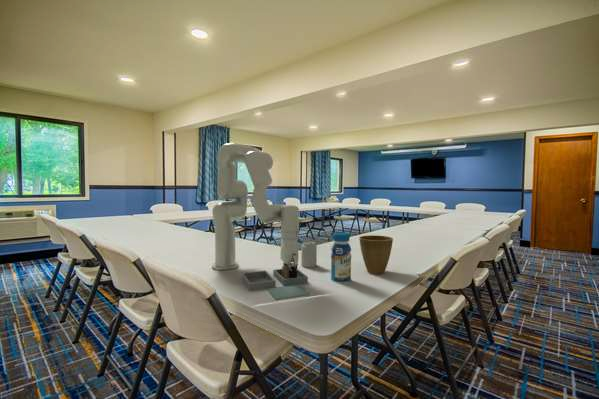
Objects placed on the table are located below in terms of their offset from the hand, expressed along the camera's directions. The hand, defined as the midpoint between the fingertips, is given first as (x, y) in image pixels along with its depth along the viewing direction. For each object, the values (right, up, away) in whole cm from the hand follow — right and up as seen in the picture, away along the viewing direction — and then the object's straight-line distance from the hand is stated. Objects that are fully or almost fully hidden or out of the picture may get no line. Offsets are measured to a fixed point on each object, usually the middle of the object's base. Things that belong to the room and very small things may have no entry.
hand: (289, 277), depth 118 cm
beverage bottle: (+21, -1, -1) cm, 21 cm away
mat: (0, -2, -14) cm, 15 cm away
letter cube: (0, -1, 0) cm, 1 cm away
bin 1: (-13, -1, -5) cm, 14 cm away
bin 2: (0, -1, 0) cm, 1 cm away
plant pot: (+39, -1, +12) cm, 41 cm away
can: (+9, -1, +20) cm, 22 cm away
